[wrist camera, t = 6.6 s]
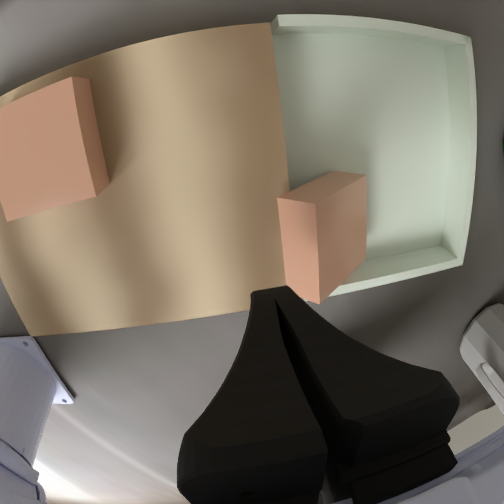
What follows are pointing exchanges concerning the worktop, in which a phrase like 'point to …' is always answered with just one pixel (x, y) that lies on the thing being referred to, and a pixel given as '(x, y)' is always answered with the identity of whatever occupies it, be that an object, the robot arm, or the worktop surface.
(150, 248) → the board
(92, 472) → the worktop surface
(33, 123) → the tile
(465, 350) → the water bottle
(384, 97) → the tray
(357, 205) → the tile
